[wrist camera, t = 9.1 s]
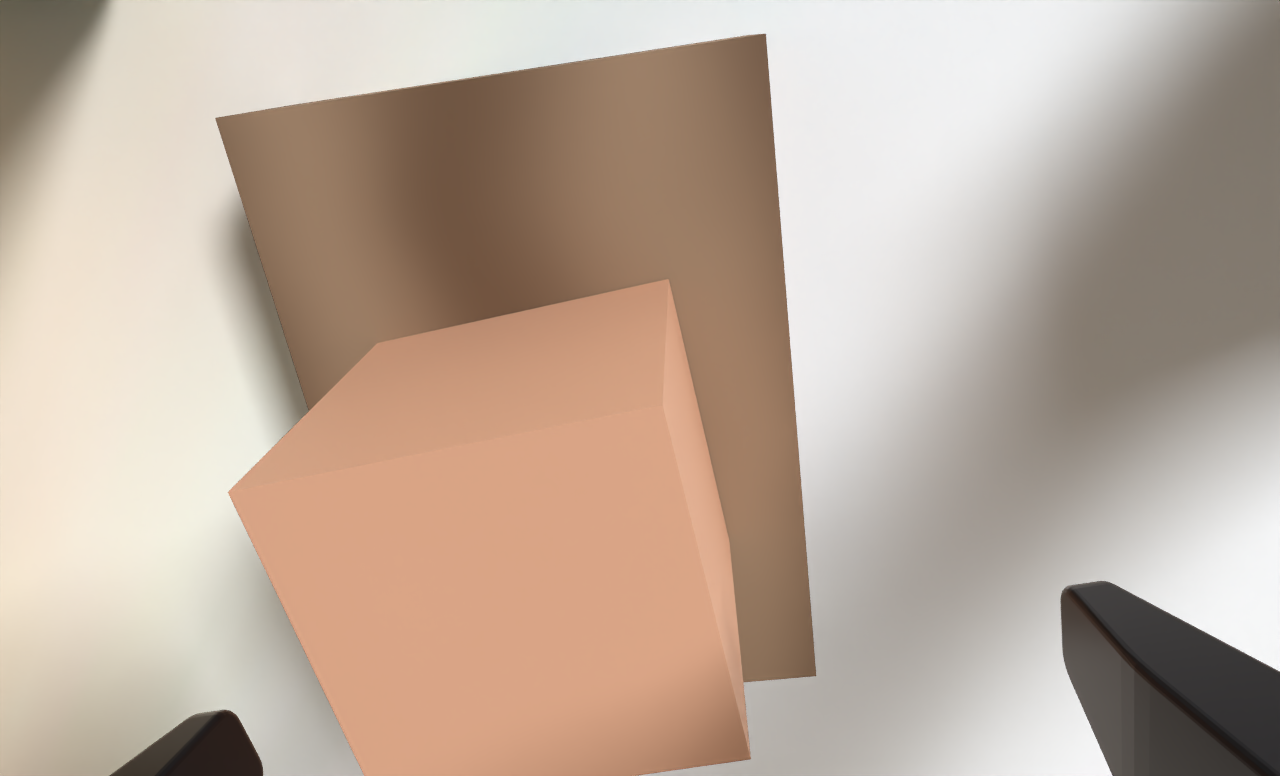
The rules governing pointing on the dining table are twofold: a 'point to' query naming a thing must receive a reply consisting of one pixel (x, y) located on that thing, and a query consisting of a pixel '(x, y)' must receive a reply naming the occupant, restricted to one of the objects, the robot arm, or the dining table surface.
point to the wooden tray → (560, 252)
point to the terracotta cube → (512, 549)
